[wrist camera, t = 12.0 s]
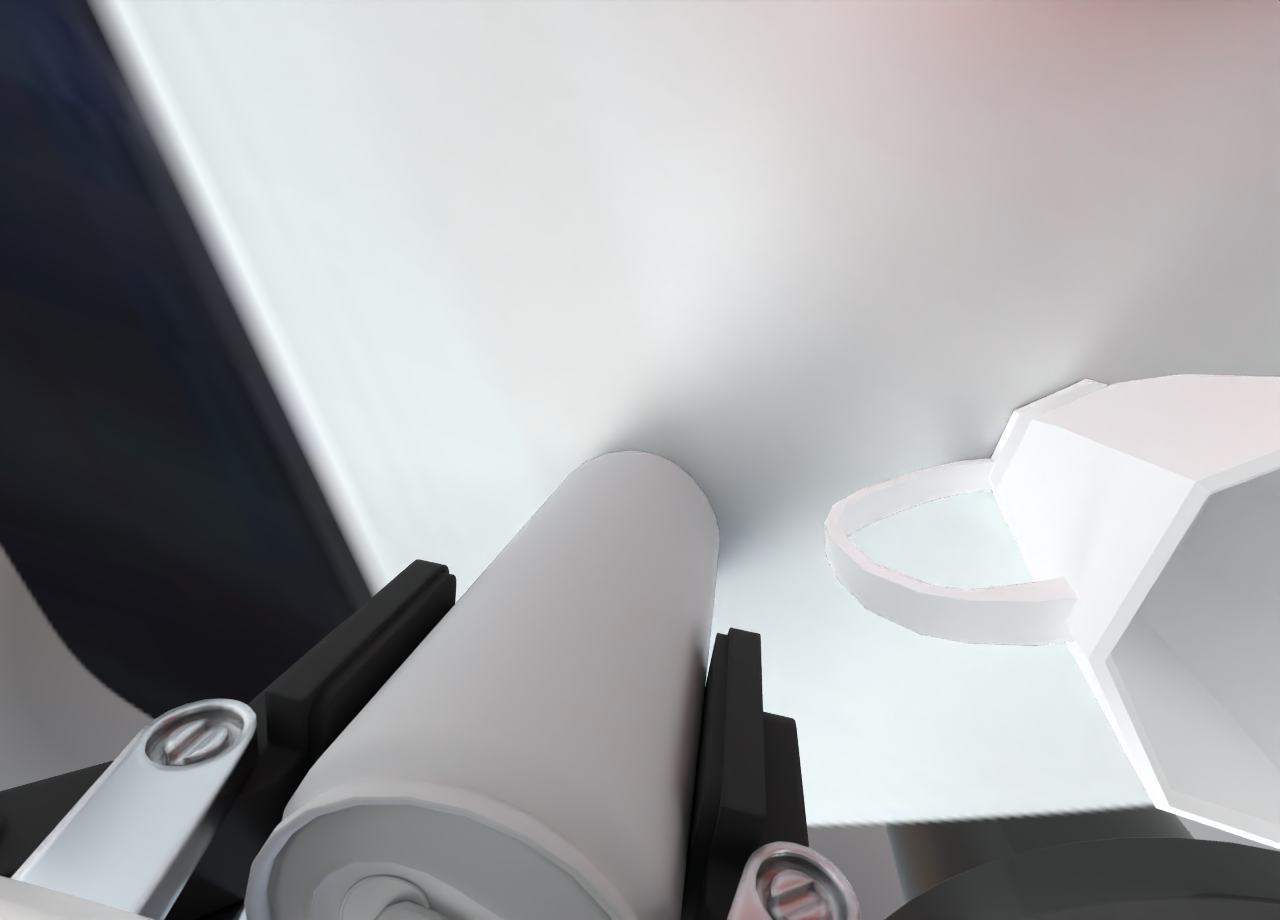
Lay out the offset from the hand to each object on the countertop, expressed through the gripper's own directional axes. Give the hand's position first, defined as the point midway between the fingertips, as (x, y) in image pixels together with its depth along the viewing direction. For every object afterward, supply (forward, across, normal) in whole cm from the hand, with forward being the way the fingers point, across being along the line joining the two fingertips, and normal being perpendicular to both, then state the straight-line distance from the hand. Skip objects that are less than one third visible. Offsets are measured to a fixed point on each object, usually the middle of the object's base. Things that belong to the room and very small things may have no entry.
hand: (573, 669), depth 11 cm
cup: (+7, -9, -4) cm, 12 cm away
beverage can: (+7, 0, 0) cm, 7 cm away
